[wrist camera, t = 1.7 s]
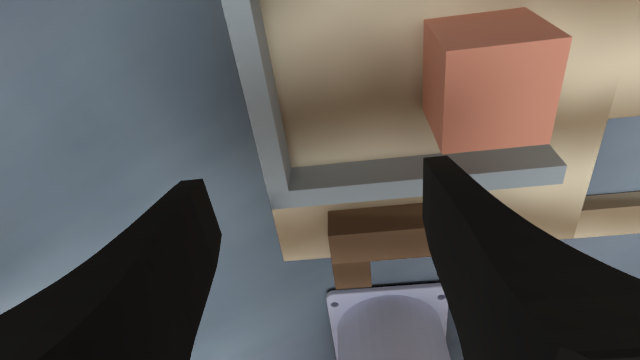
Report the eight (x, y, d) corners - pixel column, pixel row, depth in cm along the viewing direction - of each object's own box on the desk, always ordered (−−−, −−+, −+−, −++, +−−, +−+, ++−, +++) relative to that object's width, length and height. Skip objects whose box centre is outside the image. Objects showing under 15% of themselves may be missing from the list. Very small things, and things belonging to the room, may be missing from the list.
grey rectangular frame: (544, 160, 21) (562, 183, 20) (275, 185, 22) (271, 209, 21) (599, -106, 15) (632, -104, 13) (222, -53, 16) (210, -45, 14)
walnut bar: (472, 252, 25) (483, 278, 23) (335, 263, 25) (335, 289, 24) (478, 197, 23) (490, 222, 21) (327, 211, 23) (327, 236, 22)
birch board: (737, 209, 24) (755, 224, 23) (285, 247, 26) (284, 261, 25) (951, -175, 15) (996, -179, 14) (212, -69, 17) (205, -66, 16)
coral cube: (512, 99, 19) (550, 143, 16) (422, 108, 20) (441, 154, 16) (525, 7, 17) (572, 36, 14) (423, 19, 17) (446, 51, 14)
